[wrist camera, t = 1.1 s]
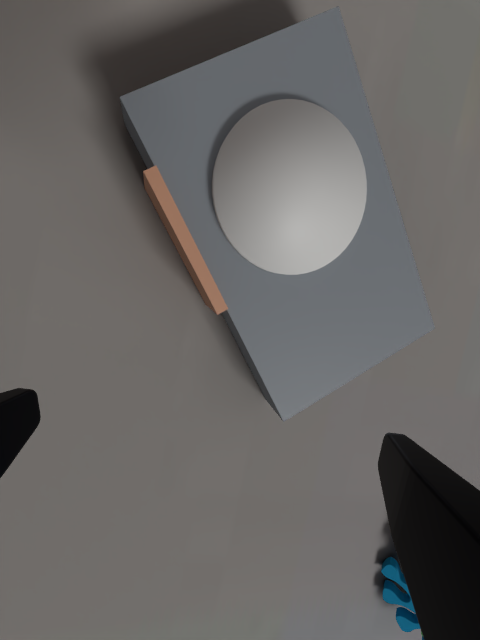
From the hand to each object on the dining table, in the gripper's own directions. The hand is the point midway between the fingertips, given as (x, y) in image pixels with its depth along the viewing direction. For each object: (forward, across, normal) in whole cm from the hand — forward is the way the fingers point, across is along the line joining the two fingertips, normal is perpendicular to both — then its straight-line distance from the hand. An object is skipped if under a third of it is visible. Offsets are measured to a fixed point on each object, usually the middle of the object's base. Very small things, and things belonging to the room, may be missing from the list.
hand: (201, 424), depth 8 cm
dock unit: (+13, -2, -4) cm, 14 cm away
